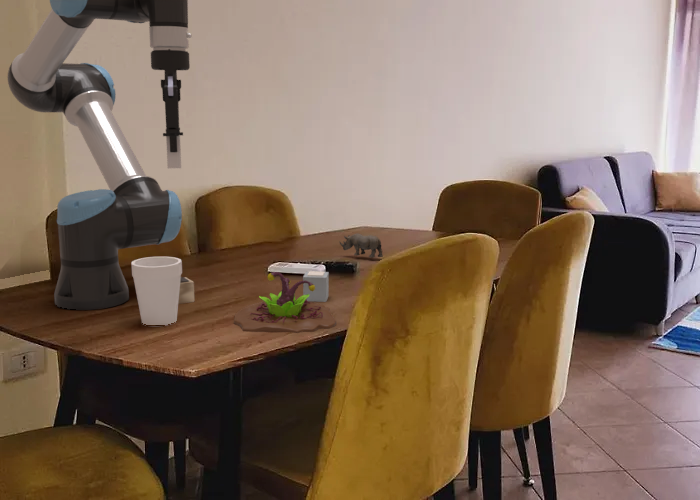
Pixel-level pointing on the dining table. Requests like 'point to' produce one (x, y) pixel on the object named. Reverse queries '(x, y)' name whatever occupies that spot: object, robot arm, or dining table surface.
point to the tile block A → (186, 291)
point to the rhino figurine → (363, 244)
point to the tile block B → (316, 286)
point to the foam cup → (157, 288)
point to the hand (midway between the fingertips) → (174, 167)
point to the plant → (285, 312)
